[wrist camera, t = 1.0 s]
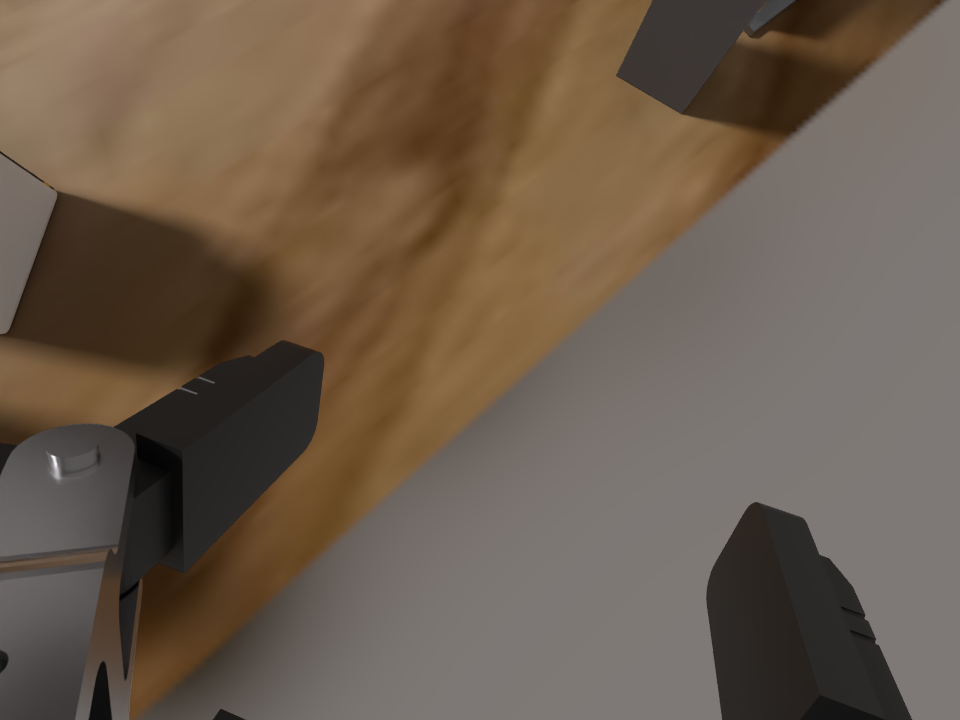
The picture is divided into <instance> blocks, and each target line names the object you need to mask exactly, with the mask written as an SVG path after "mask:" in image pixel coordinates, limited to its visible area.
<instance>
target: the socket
mask: <svg viewBox="0 0 960 720" xmlns="http://www.w3.org/2000/svg"><path fill="white" fill-rule="evenodd" d="M796 1H798V0H766V1H765V2H764V3H763V5H762V6H761V7H760V9H759V10H758V11H757V13H756V14H755V16H754V17H753V18H752V20H751V21H750V22H749V24H748V25H747V26H746V28H745V29H744V31H745V32H746V33H747V34H748V35H749V36H752V35H753V34H754V33H756V32H757V31H758V30H760V29H761V28H762V27H764V26H765V25H766V24H768V23H769V22H770V21H771V20H773V19H774V18H775V17H777V16H778V15H779V14H781V13H782V12H783V11H785V10H786V9H787V8H789V7H790V6H791V5H792V4H794V3H795V2H796Z"/></svg>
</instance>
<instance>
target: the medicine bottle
mask: <svg viewBox="0 0 960 720" xmlns="http://www.w3.org/2000/svg"><path fill="white" fill-rule="evenodd" d="M56 200H57V192H56V191H55V189H54V188H53V187H51V186H50V185H48V184H47V183H45V182H44V181H43V180H41V179H40V178H38V177H37V176H35V175H34V174H32V173H31V172H30V171H28V170H27V169H25V168H24V167H22V166H21V165H19V164H18V163H16V162H15V161H14V160H12V159H11V158H9V157H8V156H6V155H5V154H3V153H2V152H1V151H0V334H5V333H7V332H8V331H9V329H10V327H11V324H12V321H13V318H14V316H15V313H16V310H17V307H18V304H19V302H20V299H21V296H22V293H23V291H24V288H25V285H26V282H27V280H28V277H29V274H30V271H31V269H32V266H33V263H34V260H35V258H36V255H37V252H38V249H39V246H40V244H41V241H42V238H43V235H44V233H45V230H46V227H47V224H48V222H49V219H50V216H51V213H52V211H53V208H54V205H55V202H56Z"/></svg>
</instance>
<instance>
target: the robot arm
mask: <svg viewBox="0 0 960 720" xmlns="http://www.w3.org/2000/svg"><path fill="white" fill-rule="evenodd" d="M323 371H324V357H323V355H322V353H320V352H318V351H315V350H312V349H309V348H306V347H303V346H300V345H297V344H294V343H291V342H288V341H285V340H283V341H280V342H278V343H276V344H275V345H273V346H271V347H270V348H268V349H267V350H265V351H264V352H262V353H260V354H259V355H257V356H256V357H252V356H249V355H248V356H244V357H241V358H237V359H233V360H229V361H226V362H222V363H219V364H218V365H216V366H215V367H213V368H211V369H210V370H208V371H206V372H205V373H203V374H201V375H200V376H199V378H198V379H196V378H195V379H193V380H191V381H190V382H188V383H186V384H185V385H183V386H182V387H181V389H180V390H178V389H176V390H175V391H173V392H171V393H170V394H168V395H166V396H165V397H163V398H161V399H160V400H158V401H156V402H155V403H153V404H151V405H150V406H148V407H146V408H145V409H143V410H141V411H140V412H138V413H136V414H135V415H133V416H131V417H130V418H128V419H126V420H125V421H123V422H121V423H120V424H118V425H116V426H115V427H111V426H106V425H100V424H72V425H66V426H61V427H56V428H52V429H49V430H46V431H43V432H41V433H38V434H36V435H34V436H32V437H30V438H28V439H26V440H25V441H23V442H22V443H21V444H19V445H11V444H2V443H0V720H129V704H130V692H131V684H132V675H133V667H134V658H135V650H136V641H137V633H138V624H139V616H140V607H141V599H142V590H143V581H142V577H143V576H144V575H145V574H146V573H147V572H148V571H149V570H150V569H151V568H152V567H154V566H155V565H156V564H157V563H160V564H162V565H164V566H167V567H169V568H172V569H174V570H177V571H179V572H181V573H185V572H186V571H187V570H188V569H189V568H190V567H191V566H192V565H193V564H194V563H195V562H196V561H197V560H198V559H199V558H200V557H201V556H202V555H203V554H204V553H205V552H206V550H207V549H208V548H209V547H210V546H211V545H212V544H213V543H214V542H215V541H216V540H217V539H218V538H219V537H220V536H221V535H222V534H223V533H224V532H225V531H226V530H227V529H228V528H229V527H230V526H231V525H232V524H233V523H234V522H235V521H236V520H237V519H238V518H239V517H240V516H241V515H242V514H243V513H244V512H245V511H246V510H247V509H248V508H249V507H250V506H251V505H252V504H253V503H254V502H255V501H256V500H257V499H258V498H259V497H260V496H261V495H262V494H263V493H264V492H265V491H266V490H267V489H268V488H269V487H270V486H271V485H272V484H273V483H274V482H275V481H276V480H277V479H278V478H279V477H280V476H281V474H282V473H283V472H284V471H285V470H286V469H287V468H288V467H289V466H290V465H291V464H292V463H293V462H294V461H295V460H296V459H297V458H298V457H299V456H300V455H301V454H302V453H303V452H304V451H305V450H306V448H307V447H308V445H309V443H310V442H311V440H312V437H313V435H314V432H315V429H316V426H317V421H318V413H319V404H320V396H321V387H322V379H323ZM706 597H707V598H706V599H707V609H708V616H709V624H710V631H711V639H712V646H713V654H714V661H715V668H716V676H717V684H718V690H719V697H720V706H721V713H722V720H912V719H911V716H910V714H909V712H908V710H907V707H906V706H905V703H904V701H903V698H902V696H901V694H900V692H899V689H898V687H897V685H896V683H895V680H894V678H893V676H892V674H891V671H890V670H889V667H888V665H887V662H886V660H885V658H884V656H883V653H882V651H881V649H880V647H879V645H876V644H875V640H876V638H875V636H874V634H873V631H872V629H871V627H870V624H869V622H868V621H867V620H865V619H864V617H865V613H864V611H863V609H862V606H861V604H860V602H859V600H858V597H857V595H856V593H855V591H854V588H853V586H852V585H851V584H850V583H849V582H848V581H847V579H846V578H845V577H844V576H843V574H842V573H841V572H840V571H839V570H838V568H837V567H836V566H835V565H834V564H833V563H832V561H831V560H830V559H829V558H826V557H824V556H821V555H819V553H818V550H817V548H816V545H815V543H814V540H813V538H812V536H811V533H810V531H809V528H808V525H807V523H806V521H805V520H804V519H803V518H802V517H799V516H796V515H793V514H790V513H787V512H785V511H782V510H779V509H776V508H773V507H770V506H767V505H764V504H761V503H758V502H755V503H753V504H751V505H750V506H749V507H748V508H747V509H746V511H745V513H744V514H743V516H742V518H741V519H740V521H739V523H738V524H737V526H736V528H735V530H734V531H733V533H732V535H731V537H730V538H729V540H728V542H727V544H726V545H725V547H724V549H723V550H722V552H721V554H720V556H719V557H718V559H717V561H716V563H715V565H714V567H713V569H712V571H711V574H710V578H709V581H708V586H707V596H706ZM213 720H245V719H243V718H240V717H238V716H236V715H234V714H231V713H229V712H227V711H225V710H222V709H220V710H219V712H218V713H217V715H216V716H215V718H214V719H213Z"/></svg>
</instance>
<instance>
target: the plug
mask: <svg viewBox="0 0 960 720" xmlns="http://www.w3.org/2000/svg"><path fill="white" fill-rule="evenodd" d="M765 1H766V0H653V1H652V3H651V5H650V7H649V9H648V11H647V13H646V15H645V17H644V20H643V22H642V24H641V26H640V28H639V30H638V32H637V34H636V36H635V38H634V40H633V42H632V44H631V46H630V48H629V50H628V52H627V54H626V56H625V59H624V61H623V63H622V65H621V67H620V69H619V71H618V73H617V75H616V76H618V77H619V78H621V79H623V80H625V81H626V82H628V83H630V84H631V85H633V86H635V87H636V88H638V89H640V90H642V91H643V92H645V93H647V94H648V95H650V96H652V97H654V98H655V99H657V100H659V101H660V102H662V103H664V104H665V105H667V106H669V107H671V108H672V109H674V110H676V111H677V112H679V113H681V114H682V113H683V112H684V110H685V109H686V108H687V106H688V105H689V104H690V102H691V101H692V100H693V98H694V97H695V96H696V94H697V93H698V91H699V90H700V89H701V87H702V86H703V85H704V83H705V82H706V81H707V79H708V78H709V77H710V75H711V74H712V72H713V71H714V70H715V68H716V67H717V66H718V64H719V63H720V62H721V60H722V59H723V58H724V56H725V55H726V53H727V52H728V51H729V49H730V48H731V47H732V45H733V44H734V43H735V41H736V40H737V39H738V37H739V36H740V35H741V33H742V32H743V30H744V29H745V28H746V26H747V25H748V24H749V22H750V21H751V20H752V18H753V17H754V16H755V14H756V13H757V11H758V10H759V9H760V7H761V6H762V5H763V3H764V2H765Z"/></svg>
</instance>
